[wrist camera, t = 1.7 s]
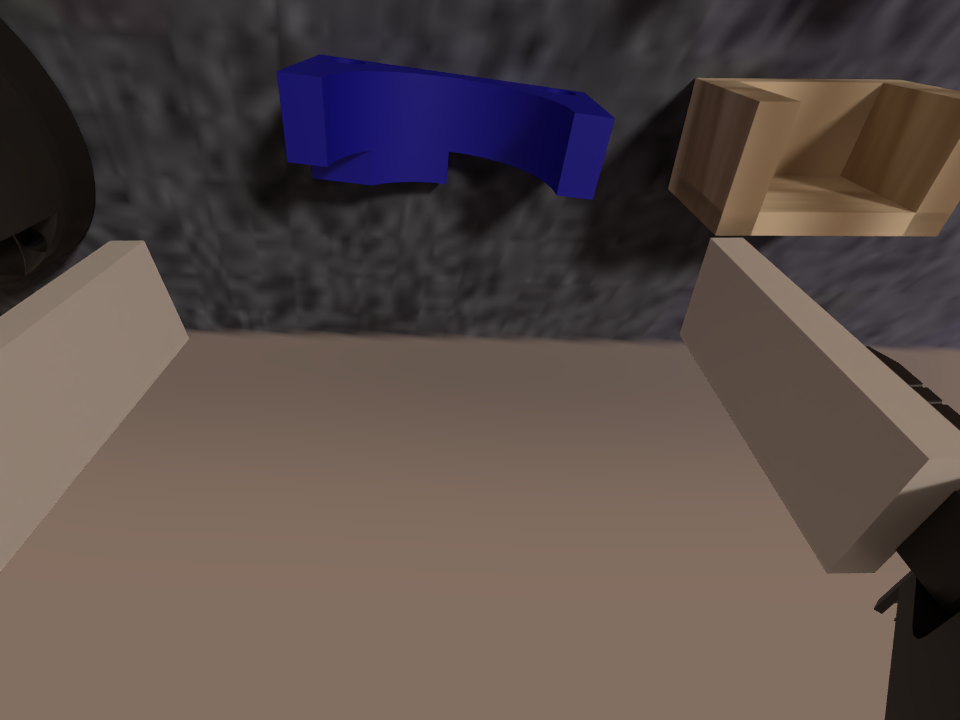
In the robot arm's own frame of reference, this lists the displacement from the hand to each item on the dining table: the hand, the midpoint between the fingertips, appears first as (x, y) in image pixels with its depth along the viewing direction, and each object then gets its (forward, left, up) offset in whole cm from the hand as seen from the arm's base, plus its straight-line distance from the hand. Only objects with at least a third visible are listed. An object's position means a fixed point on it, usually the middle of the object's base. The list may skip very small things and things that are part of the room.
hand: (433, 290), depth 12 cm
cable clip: (0, +1, -15) cm, 15 cm away
